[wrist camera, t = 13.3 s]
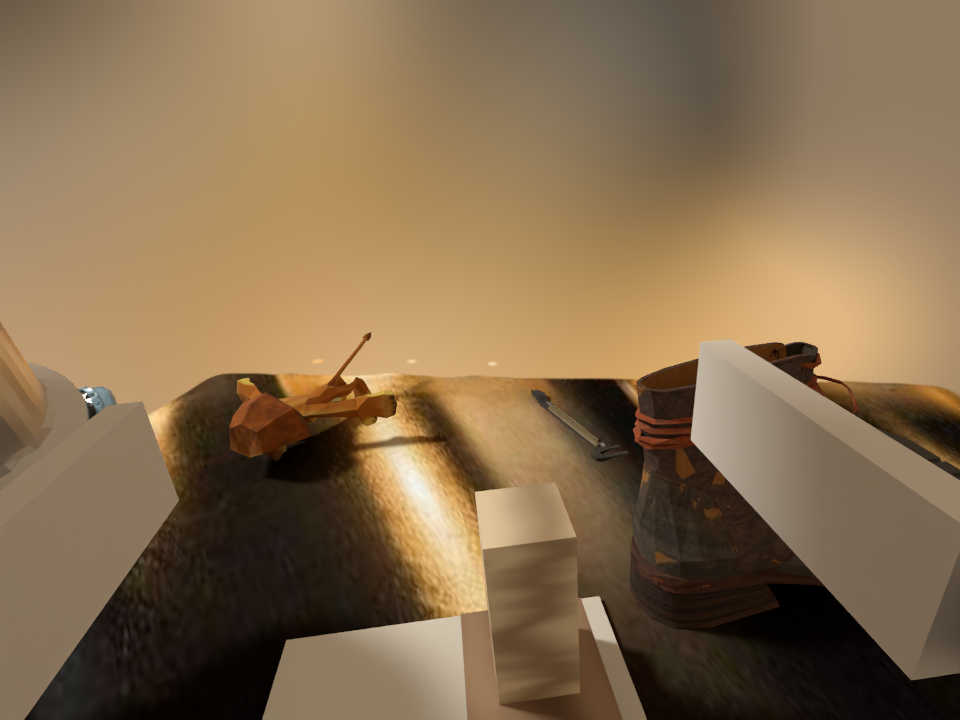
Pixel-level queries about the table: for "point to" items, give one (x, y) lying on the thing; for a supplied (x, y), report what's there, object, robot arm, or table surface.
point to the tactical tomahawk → (577, 428)
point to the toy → (301, 413)
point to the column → (530, 591)
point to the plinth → (572, 716)
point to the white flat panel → (405, 673)
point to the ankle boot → (704, 510)
